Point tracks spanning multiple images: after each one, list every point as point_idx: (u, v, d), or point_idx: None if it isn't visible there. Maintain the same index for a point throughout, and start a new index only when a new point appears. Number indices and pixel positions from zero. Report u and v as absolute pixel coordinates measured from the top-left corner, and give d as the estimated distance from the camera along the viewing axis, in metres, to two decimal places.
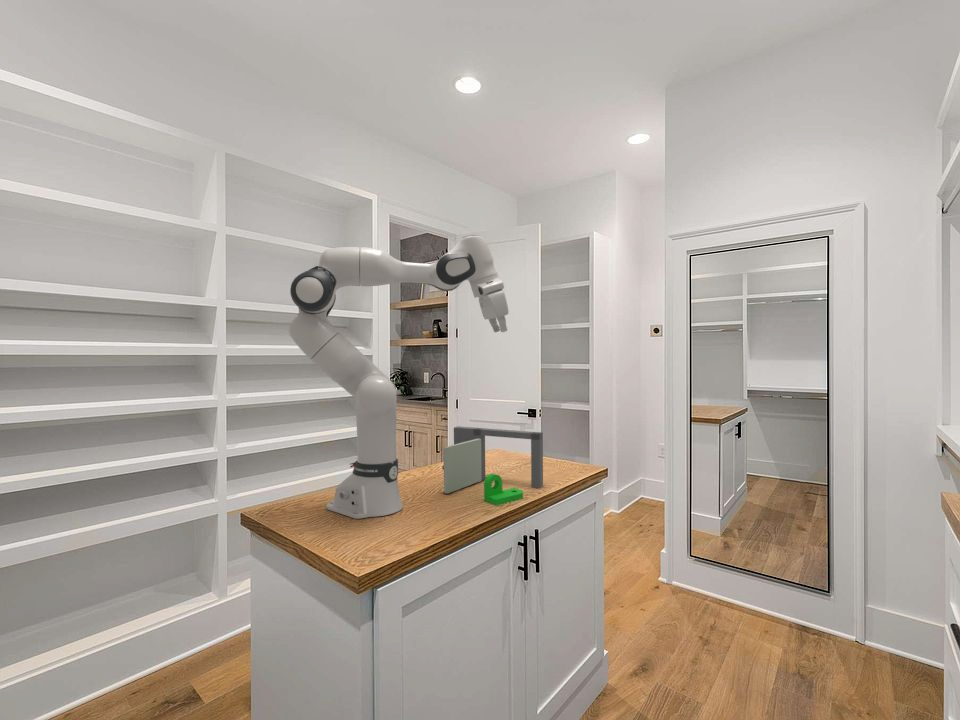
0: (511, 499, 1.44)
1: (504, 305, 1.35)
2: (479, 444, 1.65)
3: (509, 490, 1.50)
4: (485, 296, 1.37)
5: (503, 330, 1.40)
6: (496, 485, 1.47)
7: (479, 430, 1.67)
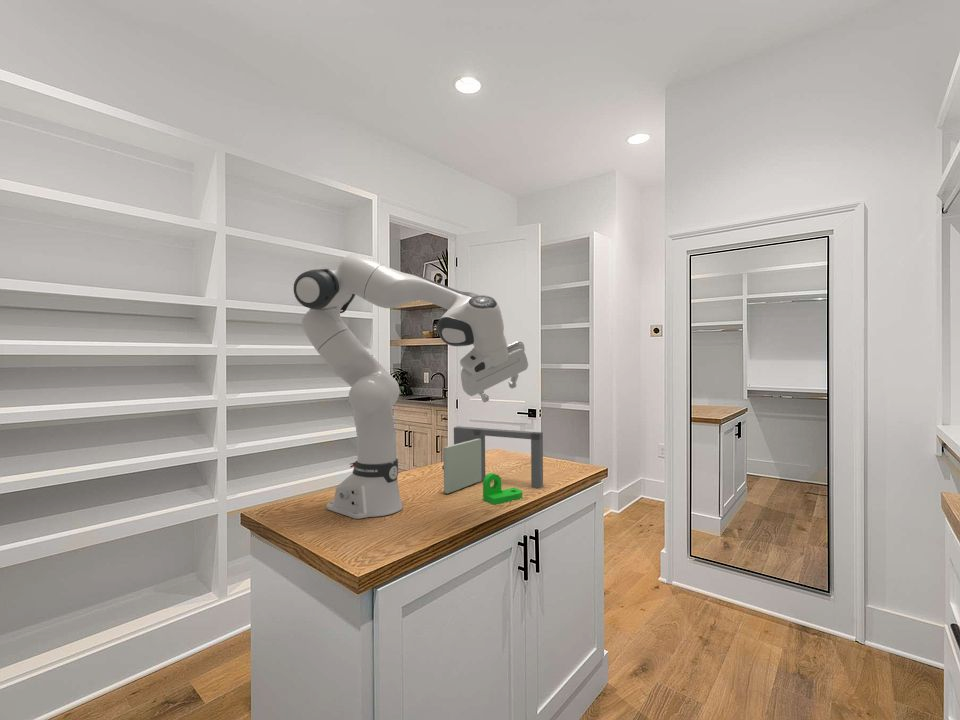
0: (510, 499, 1.44)
1: (467, 388, 1.30)
2: (479, 444, 1.65)
3: (509, 490, 1.50)
4: None
5: (482, 399, 1.36)
6: (495, 484, 1.47)
7: (479, 430, 1.67)
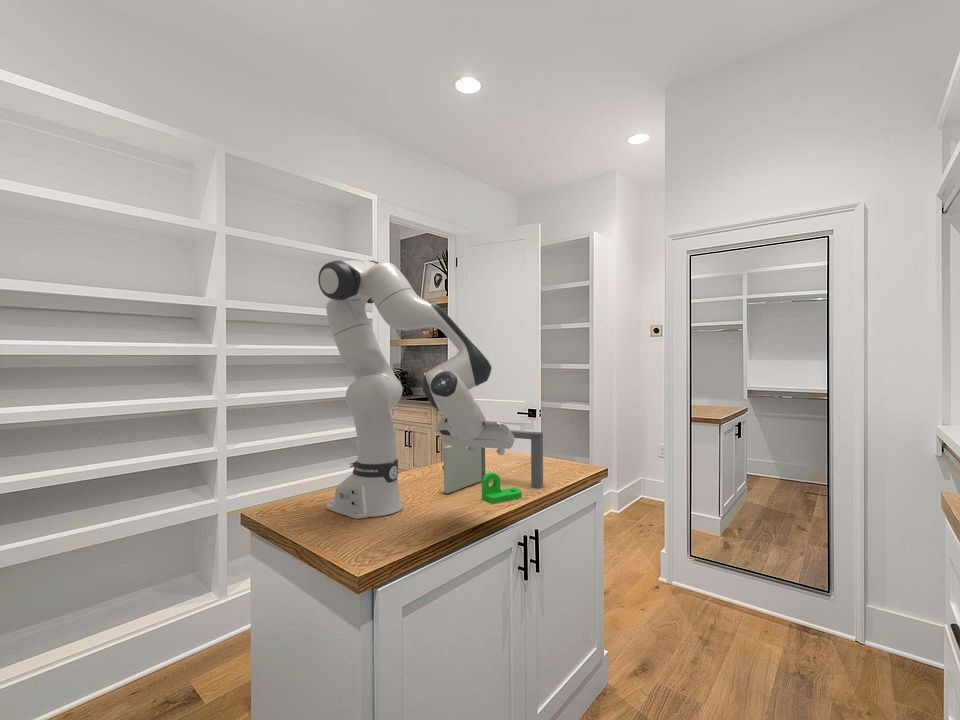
0: (508, 498, 1.45)
1: None
2: None
3: (508, 489, 1.50)
4: None
5: None
6: (494, 484, 1.48)
7: None
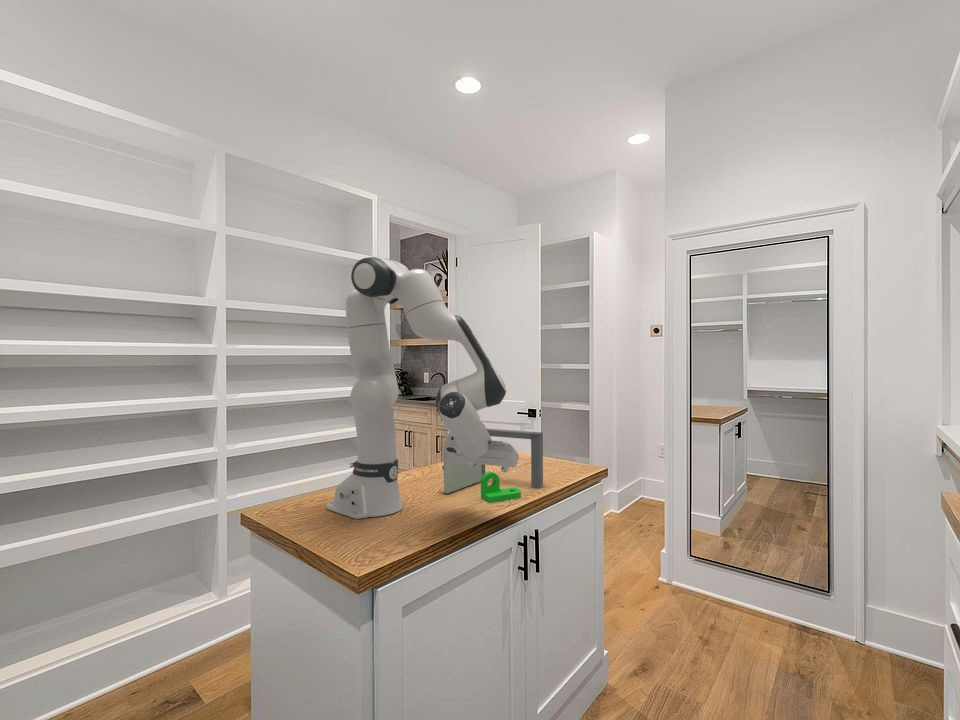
0: (506, 498, 1.45)
1: None
2: None
3: (508, 489, 1.51)
4: None
5: None
6: (493, 483, 1.49)
7: None
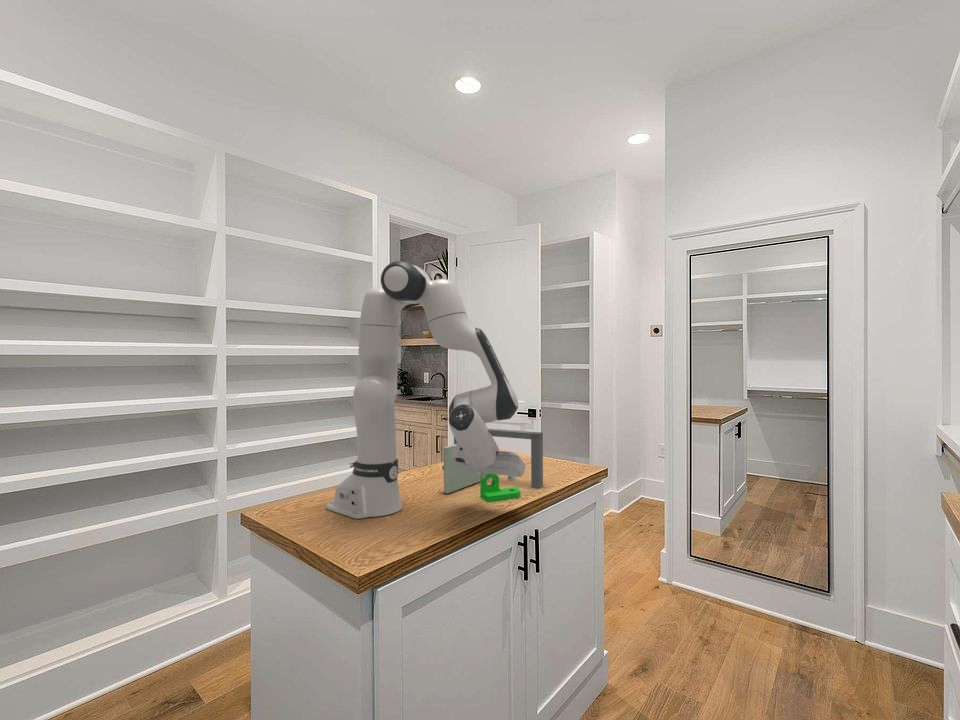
0: (505, 497, 1.46)
1: None
2: None
3: (508, 489, 1.51)
4: None
5: None
6: (493, 483, 1.50)
7: None
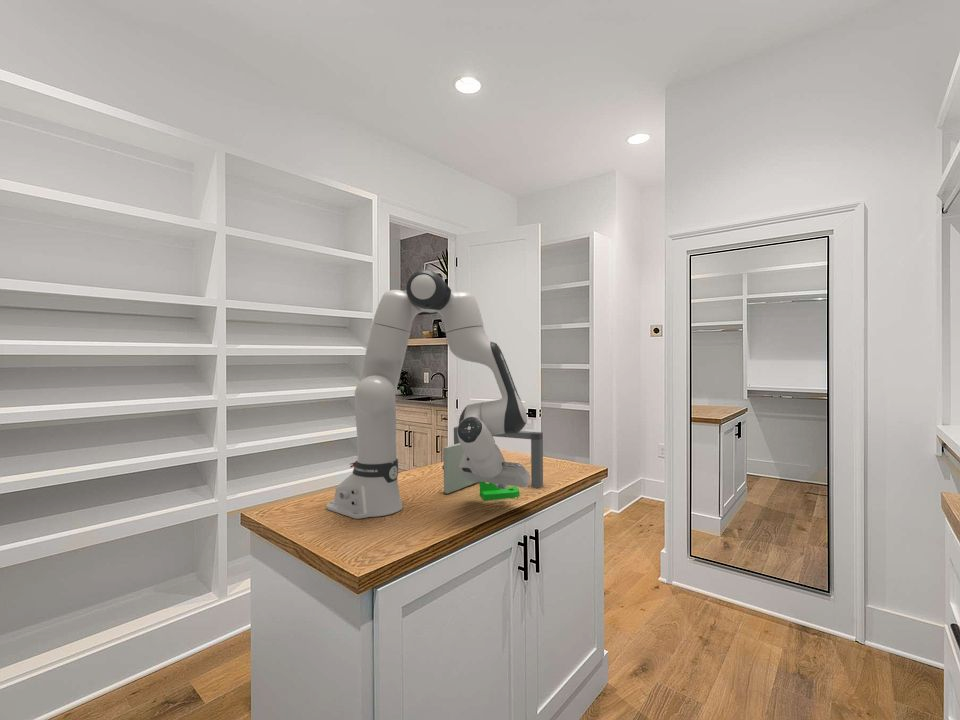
0: (502, 496, 1.47)
1: None
2: None
3: (507, 488, 1.52)
4: None
5: None
6: None
7: None
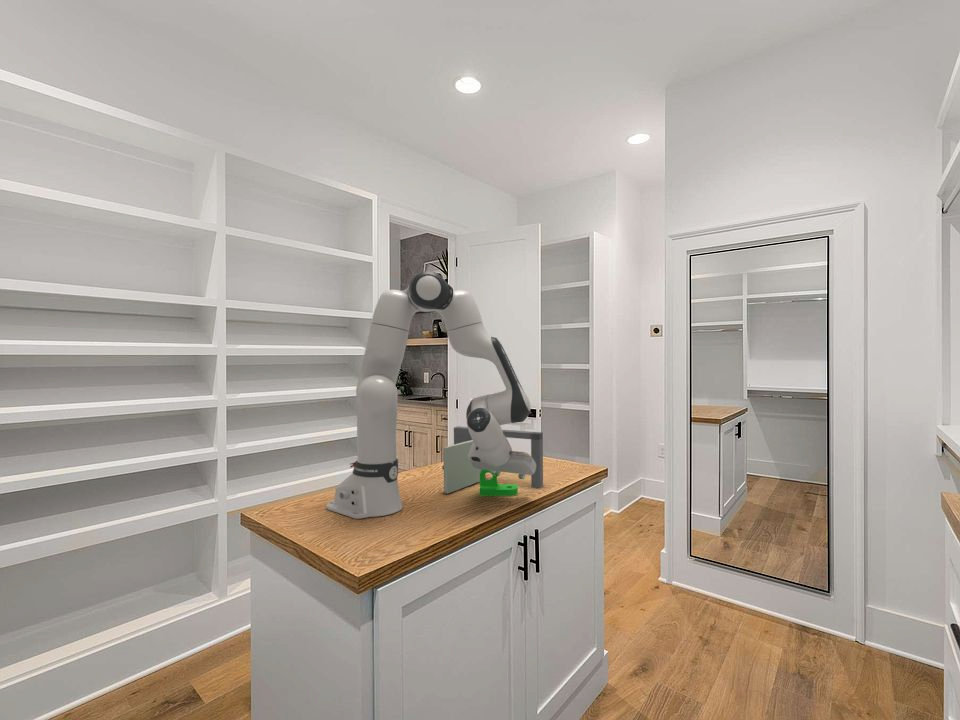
0: (498, 493, 1.50)
1: None
2: None
3: (507, 485, 1.54)
4: None
5: None
6: (492, 478, 1.54)
7: None
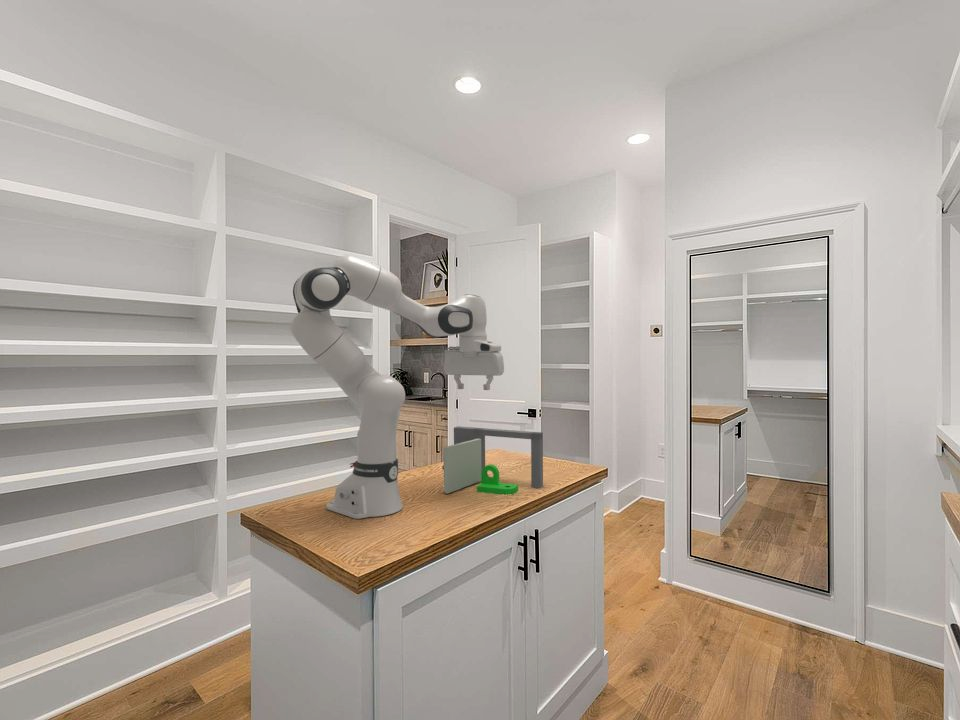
0: (494, 491, 1.52)
1: (503, 366, 1.49)
2: (479, 444, 1.65)
3: (507, 485, 1.56)
4: (488, 353, 1.47)
5: (488, 388, 1.50)
6: None
7: (479, 430, 1.67)
